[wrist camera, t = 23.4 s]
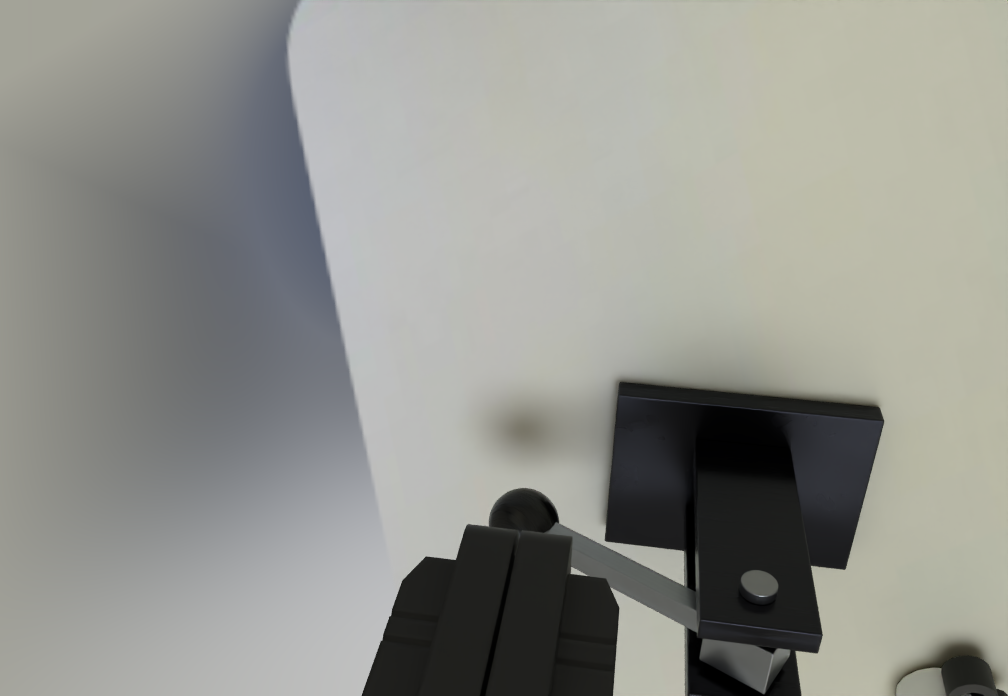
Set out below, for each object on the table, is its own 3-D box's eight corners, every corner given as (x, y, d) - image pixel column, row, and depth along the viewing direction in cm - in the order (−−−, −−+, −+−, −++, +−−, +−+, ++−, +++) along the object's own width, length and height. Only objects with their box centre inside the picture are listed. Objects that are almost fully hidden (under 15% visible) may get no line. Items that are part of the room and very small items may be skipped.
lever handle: (516, 518, 46) (474, 554, 44) (517, 465, 44) (474, 499, 42) (791, 659, 39) (757, 710, 37) (805, 601, 37) (771, 651, 35)
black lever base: (606, 526, 50) (585, 730, 39) (619, 381, 45) (600, 566, 35) (842, 554, 48) (890, 774, 38) (880, 406, 44) (947, 608, 33)
